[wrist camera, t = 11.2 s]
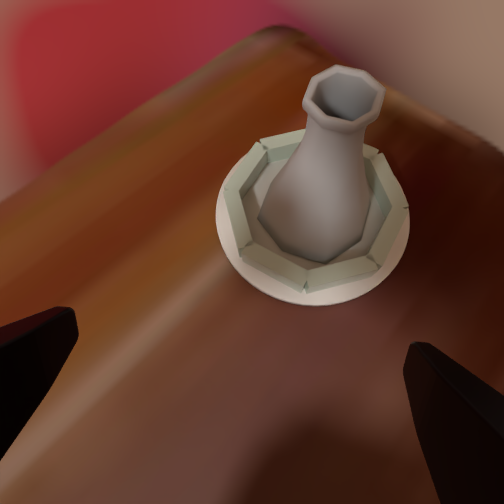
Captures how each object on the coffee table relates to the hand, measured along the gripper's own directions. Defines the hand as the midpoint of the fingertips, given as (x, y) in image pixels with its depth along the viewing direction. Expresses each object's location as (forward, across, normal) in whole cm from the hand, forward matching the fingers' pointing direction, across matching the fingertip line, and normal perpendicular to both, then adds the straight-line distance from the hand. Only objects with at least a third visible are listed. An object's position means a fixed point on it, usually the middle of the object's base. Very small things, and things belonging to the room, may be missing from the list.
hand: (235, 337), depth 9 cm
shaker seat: (+16, -3, +1) cm, 16 cm away
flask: (+15, -3, +1) cm, 16 cm away
